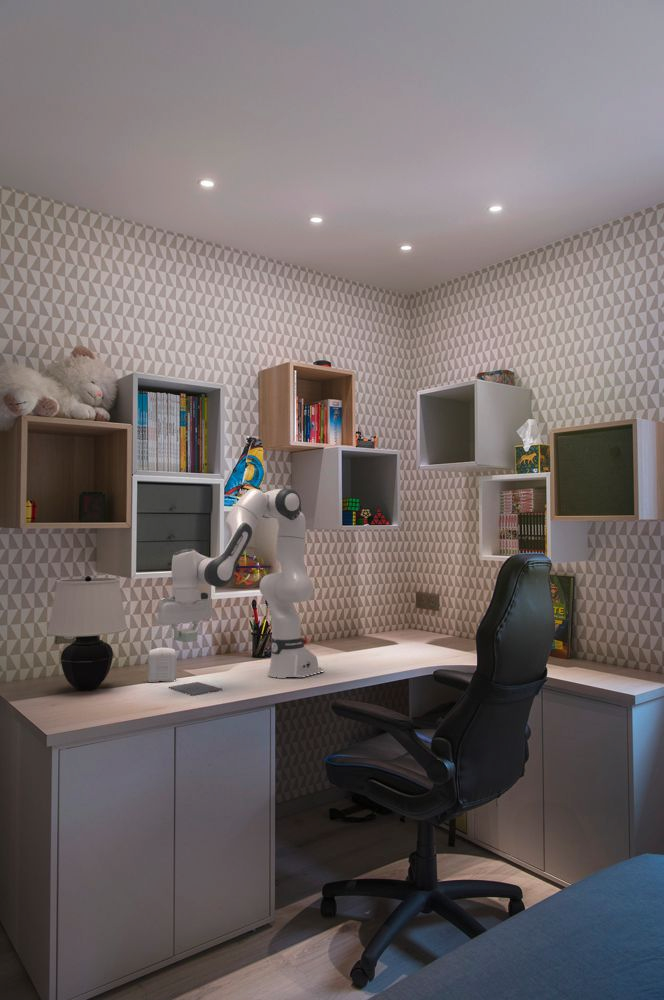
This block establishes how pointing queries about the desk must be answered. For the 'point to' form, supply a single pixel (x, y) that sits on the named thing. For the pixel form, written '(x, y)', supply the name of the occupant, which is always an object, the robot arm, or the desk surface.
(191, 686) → the desk mat
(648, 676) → the desk surface
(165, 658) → the white upright rounded block
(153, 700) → the desk surface
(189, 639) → the card box
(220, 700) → the desk surface
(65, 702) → the desk surface
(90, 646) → the table lamp
